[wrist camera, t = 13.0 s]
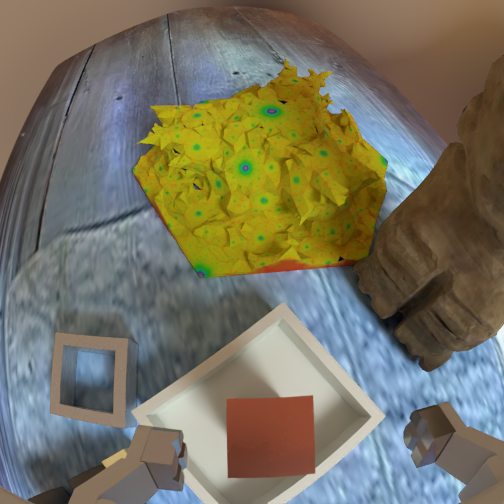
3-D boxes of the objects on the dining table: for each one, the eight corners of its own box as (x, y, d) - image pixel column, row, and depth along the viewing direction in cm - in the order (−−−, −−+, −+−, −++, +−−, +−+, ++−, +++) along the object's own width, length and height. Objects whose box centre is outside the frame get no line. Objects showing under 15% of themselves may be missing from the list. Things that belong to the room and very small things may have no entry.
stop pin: (283, 442, 19) (315, 473, 10) (235, 443, 19) (227, 478, 10) (281, 398, 21) (312, 395, 11) (235, 400, 21) (226, 398, 11)
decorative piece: (277, 38, 36) (460, 163, 25) (274, 80, 43) (428, 207, 32) (98, 98, 28) (252, 326, 17) (116, 145, 35) (250, 349, 24)
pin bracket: (136, 426, 20) (125, 428, 18) (65, 413, 20) (50, 413, 18) (138, 345, 23) (128, 338, 21) (69, 339, 23) (55, 332, 21)
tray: (236, 518, 17) (235, 533, 14) (145, 410, 21) (130, 411, 18) (368, 415, 21) (385, 416, 18) (278, 314, 25) (283, 301, 22)
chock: (127, 477, 18) (116, 482, 16) (113, 457, 19) (101, 461, 16) (148, 465, 19) (139, 470, 16) (134, 445, 19) (123, 448, 17)
